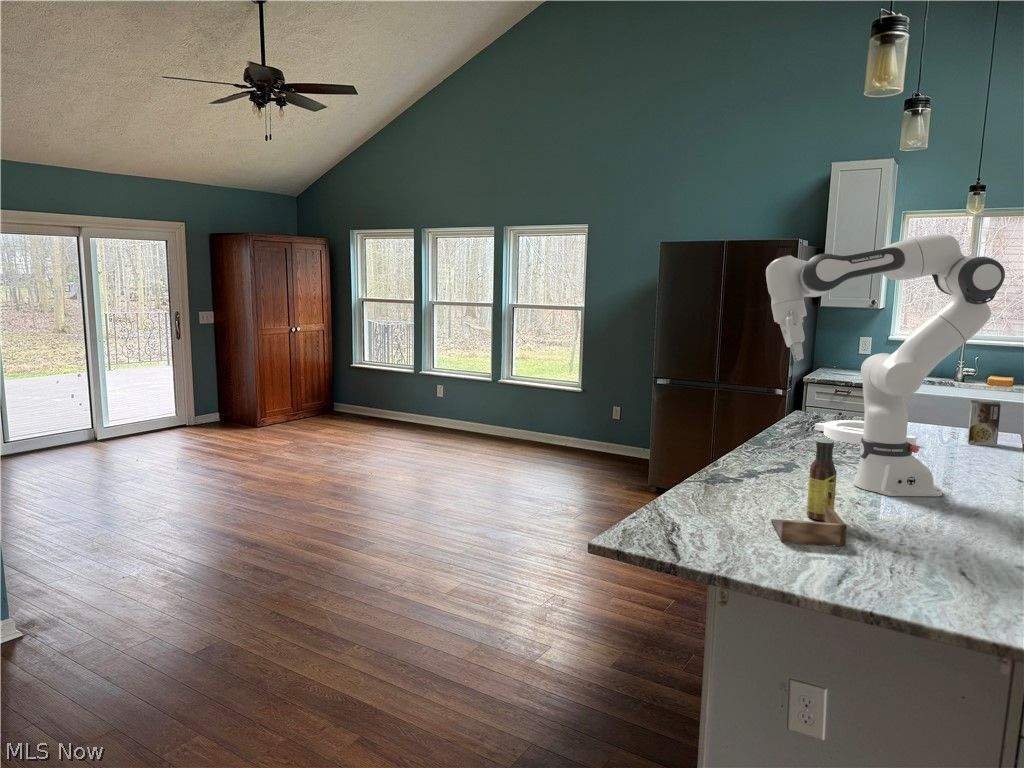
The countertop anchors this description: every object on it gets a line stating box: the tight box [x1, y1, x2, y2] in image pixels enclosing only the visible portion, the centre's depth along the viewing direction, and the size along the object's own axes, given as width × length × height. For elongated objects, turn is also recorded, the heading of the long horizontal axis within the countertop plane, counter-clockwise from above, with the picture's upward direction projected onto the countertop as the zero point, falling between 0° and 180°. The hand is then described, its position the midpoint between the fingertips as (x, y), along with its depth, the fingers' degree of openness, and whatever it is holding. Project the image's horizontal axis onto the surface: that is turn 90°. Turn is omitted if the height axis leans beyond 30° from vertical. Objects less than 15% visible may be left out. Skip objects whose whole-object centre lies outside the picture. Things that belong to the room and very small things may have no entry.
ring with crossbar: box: [814, 419, 917, 446], centre depth 261 cm, size 28×28×5 cm
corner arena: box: [770, 506, 847, 547], centre depth 159 cm, size 14×14×5 cm
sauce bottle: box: [806, 439, 838, 522], centre depth 169 cm, size 7×6×20 cm
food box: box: [966, 399, 1002, 447], centre depth 251 cm, size 9×6×16 cm
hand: (799, 360), depth 191 cm, fingers open, 8 cm apart
